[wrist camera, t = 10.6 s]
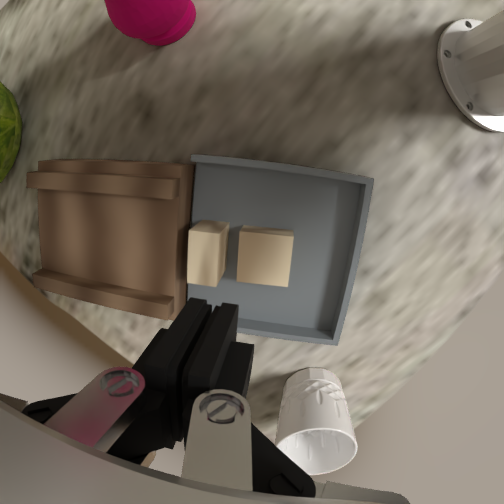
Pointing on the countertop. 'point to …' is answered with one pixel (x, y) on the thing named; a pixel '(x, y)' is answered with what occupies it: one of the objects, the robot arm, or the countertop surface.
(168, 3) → the pepper mill
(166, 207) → the brown wooden box
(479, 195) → the countertop surface
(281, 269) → the chip
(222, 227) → the chip
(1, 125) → the lettuce
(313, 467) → the white cup
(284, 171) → the tray
